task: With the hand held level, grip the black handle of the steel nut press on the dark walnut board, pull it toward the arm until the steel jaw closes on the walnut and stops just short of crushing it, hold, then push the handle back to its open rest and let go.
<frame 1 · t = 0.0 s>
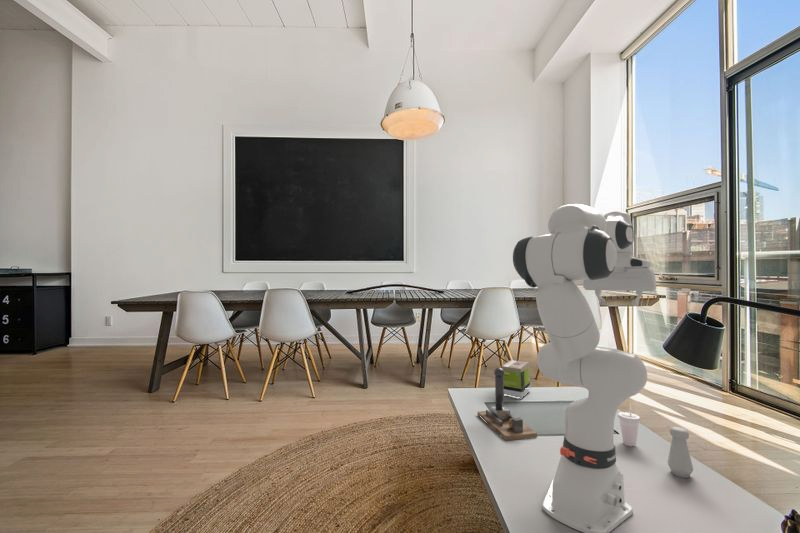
hand: (618, 304, 114), 48 cm above the table, tool pointing down, fingers open, 8 cm apart
handle slide: (499, 421, 139), resting on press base, slide at 2.5 cm
smoothie: (629, 444, 120), on the table
tea box: (516, 394, 172), on the table
salt shaker: (680, 474, 102), on the table
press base: (496, 418, 141), on the table
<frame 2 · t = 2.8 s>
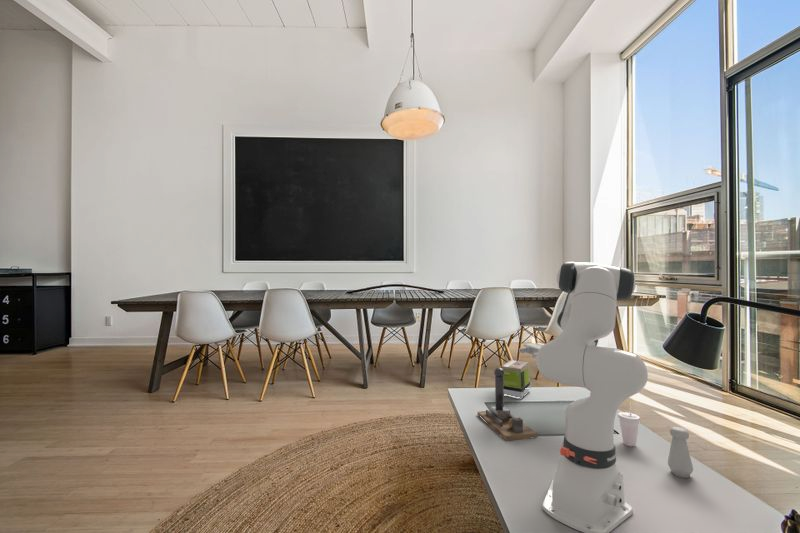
hand: (526, 353, 142), 26 cm above the table, tool horizontal, fingers open, 8 cm apart
nothing on the table moved.
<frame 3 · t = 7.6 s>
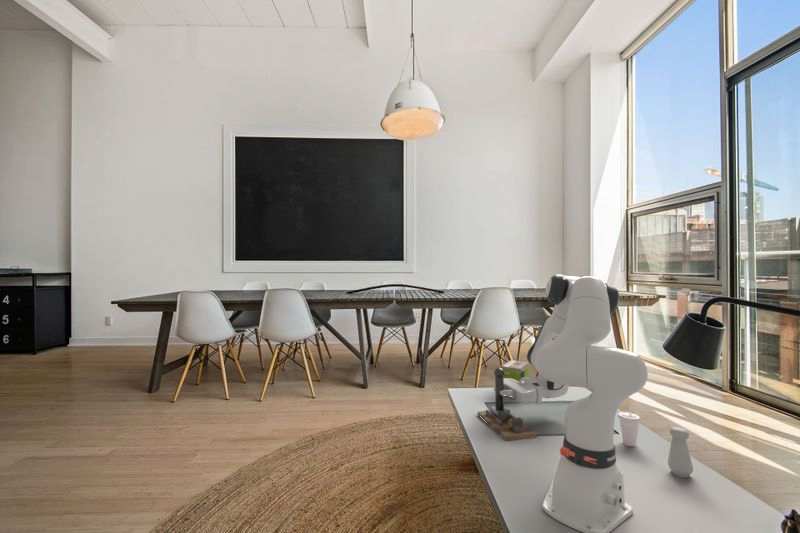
hand: (497, 390, 139), 12 cm above the table, tool horizontal, fingers closed on handle slide, 3 cm apart
handle slide: (499, 421, 139), resting on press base, slide at 2.5 cm, touching gripper
everything else where it was.
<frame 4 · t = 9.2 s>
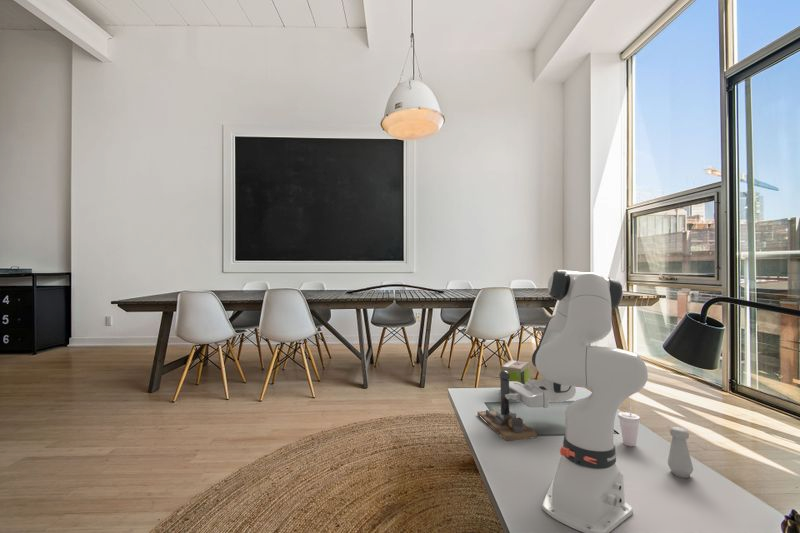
hand: (502, 394, 135), 12 cm above the table, tool horizontal, fingers closed on handle slide, 3 cm apart
handle slide: (505, 425, 135), resting on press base, slide at 6.7 cm, touching gripper
everything else where it was.
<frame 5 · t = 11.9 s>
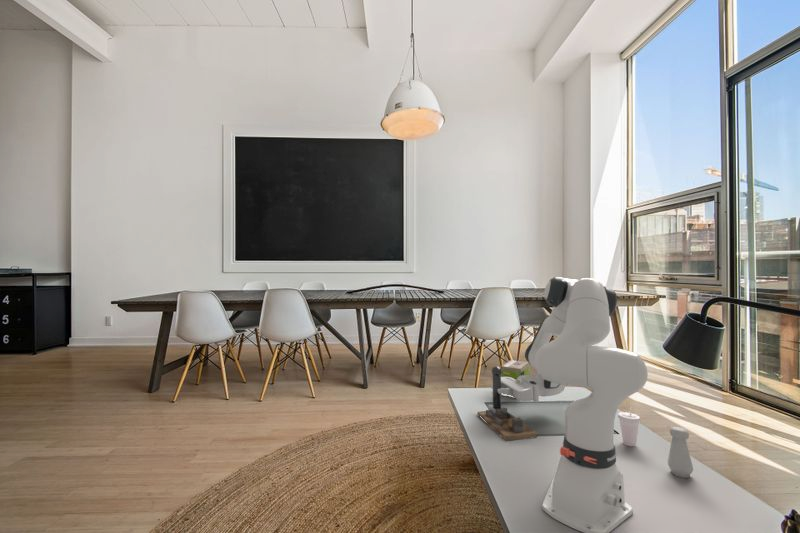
hand: (495, 389, 141), 12 cm above the table, tool horizontal, fingers closed on handle slide, 3 cm apart
handle slide: (497, 419, 141), resting on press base, slide at 0.3 cm, touching gripper
everything else where it was.
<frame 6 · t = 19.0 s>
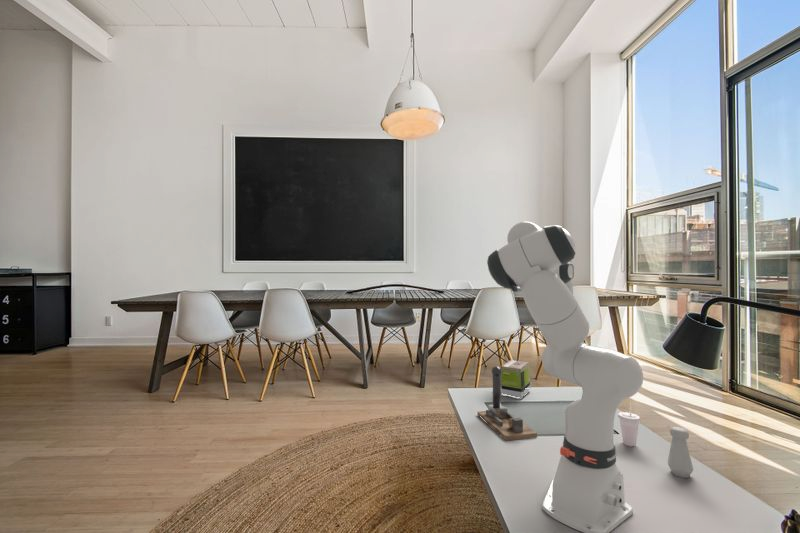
hand: (560, 330, 131), 37 cm above the table, tool pointing down, fingers open, 8 cm apart
handle slide: (497, 419, 141), resting on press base, slide at 0.3 cm
everything else where it was.
at the end: handle slide slide at 0.3 cm; the gripper is holding nothing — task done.
